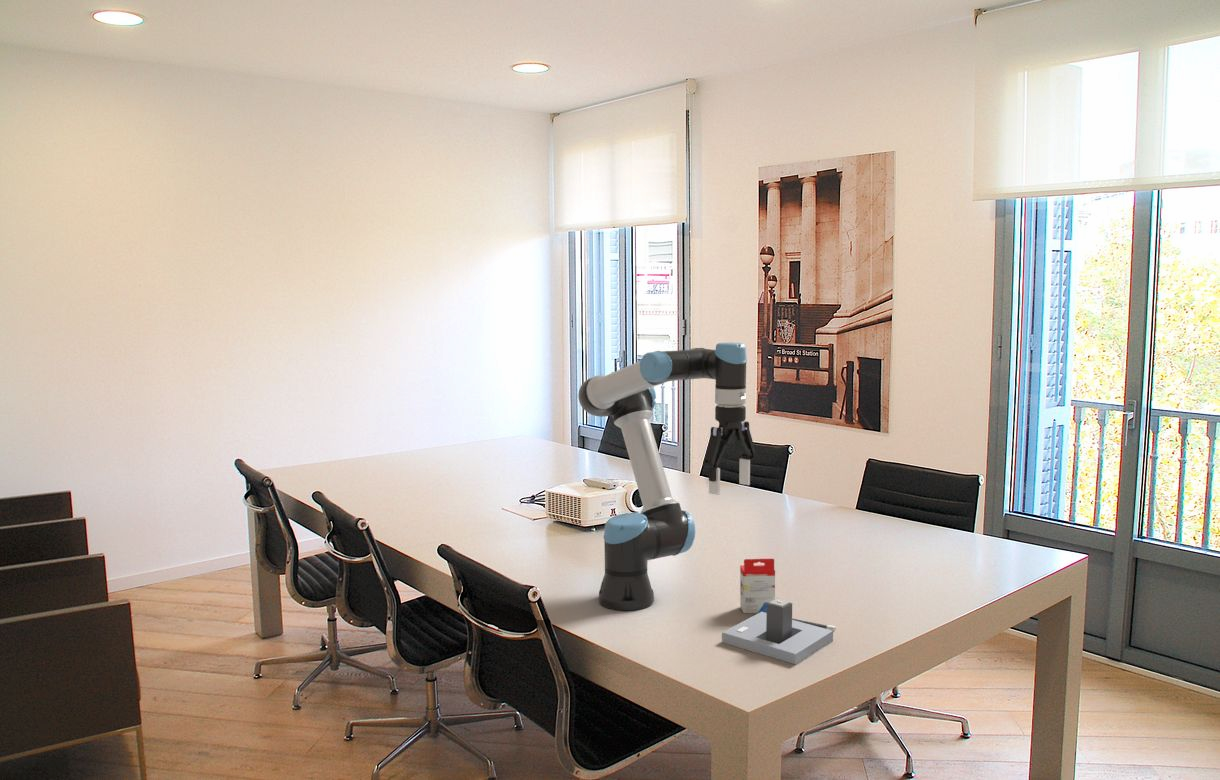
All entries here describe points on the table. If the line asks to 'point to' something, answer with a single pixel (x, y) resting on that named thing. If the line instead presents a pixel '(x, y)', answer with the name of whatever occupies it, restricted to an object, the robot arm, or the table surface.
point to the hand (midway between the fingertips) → (729, 489)
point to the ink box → (756, 585)
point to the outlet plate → (791, 650)
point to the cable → (818, 625)
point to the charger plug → (779, 621)
